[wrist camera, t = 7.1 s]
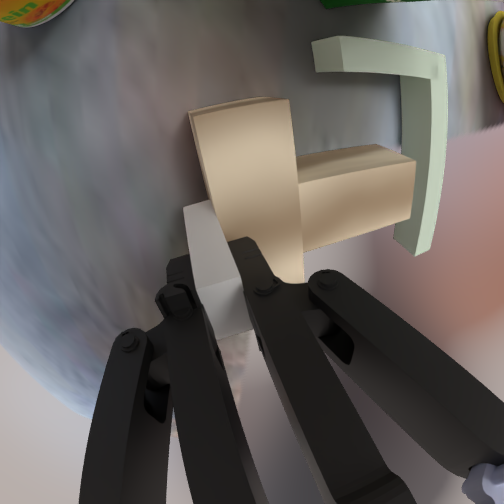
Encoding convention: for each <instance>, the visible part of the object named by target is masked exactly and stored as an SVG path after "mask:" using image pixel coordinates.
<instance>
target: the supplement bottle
mask: <svg viewBox="0 0 504 504" xmlns="http://www.w3.org/2000/svg"><path fill="white" fill-rule="evenodd" d="M73 1H74V0H0V21H1V22H4V23H8V24H11V25H15V26H18V27H24V28H27V27H34V26H38V25H41V24H43V23H45V22H47V21H49V20H51V19H53V18H54V17H56V16H57V15H59V14H60V13H61V12H62V11H64V10H65V9H66V8H67V7H68V6H69V5H70V4H71V3H72V2H73Z"/></svg>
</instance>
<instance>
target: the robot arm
mask: <svg viewBox="0 0 504 504" xmlns="http://www.w3.org/2000/svg"><path fill="white" fill-rule="evenodd" d="M183 212H184V219H185V226H186V233H187V240H188V246H189V252H190V254H188V255H184V256H181V257H178V258H174V259H171V260H170V262H169V264H168V265H167V267H166V273H167V285H165V286H164V287H163V288H161V289H160V290H159V292H158V293H157V295H156V298H155V302H156V304H157V306H158V307H159V309H160V311H161V313H162V315H163V317H164V320H163V321H162V322H161V323H160V324H159V325H157V326H156V327H154V328H153V329H151V330H149V331H147V332H146V333H145V332H144V331H143V330H141V329H138V328H131V329H127V330H125V331H124V332H122V333H121V334H120V335H119V336H118V337H117V338H116V339H115V341H114V343H113V346H112V349H111V352H110V355H109V359H108V362H107V365H106V369H105V372H104V376H103V379H102V383H101V386H100V390H99V394H98V398H97V402H96V406H95V410H94V414H93V419H92V423H91V428H90V433H89V437H88V442H87V448H86V453H85V459H84V465H83V471H82V479H81V486H80V495H79V504H166V489H167V471H168V457H169V444H170V433H171V423H172V413H173V407H174V413H175V420H176V426H177V431H178V437H179V442H180V447H181V452H182V458H183V462H184V467H185V471H186V476H187V480H188V484H189V488H190V492H191V496H192V500H193V504H269V502H268V500H267V497H266V494H265V492H264V489H263V487H262V484H261V481H260V478H259V475H258V472H257V470H256V467H255V464H254V461H253V458H252V455H251V452H250V449H249V446H248V443H247V440H246V437H245V434H244V431H243V427H242V425H241V421H240V418H239V415H238V411H237V408H236V405H235V401H234V398H233V395H232V391H231V388H230V384H229V381H228V377H227V374H226V370H225V366H224V363H223V359H222V355H221V352H220V349H219V347H218V345H217V341H216V340H219V339H223V338H226V337H229V336H233V335H236V334H239V333H243V332H246V331H249V330H252V329H253V328H254V331H255V334H256V338H257V342H258V346H259V350H260V351H261V352H262V354H263V357H264V359H265V362H266V365H267V367H268V370H269V372H270V375H271V377H272V380H273V382H274V385H275V387H276V390H277V392H278V395H279V397H280V399H281V402H282V405H283V407H284V410H285V412H286V414H287V417H288V419H289V422H290V424H291V426H292V429H293V431H294V434H295V436H296V438H297V441H298V443H299V445H300V448H301V450H302V453H303V455H304V457H305V460H306V462H307V464H308V466H309V469H310V471H311V473H312V475H313V477H314V480H315V482H316V485H317V487H318V489H319V491H320V493H321V495H322V498H323V501H324V504H417V503H416V501H415V499H414V498H413V496H412V494H411V492H410V490H409V488H408V487H407V485H406V484H405V483H404V481H403V480H402V479H401V478H400V477H399V476H398V475H396V474H394V473H393V472H391V471H390V469H389V468H388V467H387V465H386V464H385V462H384V460H383V458H382V456H381V455H380V453H379V451H378V449H377V447H376V445H375V443H374V442H373V440H372V438H371V436H370V434H369V432H368V431H367V429H366V427H365V425H364V423H363V422H362V420H361V418H360V416H359V414H358V412H357V411H356V409H355V407H354V405H353V403H352V402H351V400H350V398H349V396H348V394H347V393H346V391H345V389H344V387H343V386H342V384H341V382H340V380H339V378H338V377H337V375H336V373H335V371H334V370H333V368H332V366H331V364H330V362H329V361H328V359H327V357H326V355H325V354H324V352H325V353H326V354H327V355H328V356H329V357H330V358H331V359H332V360H333V361H334V362H335V363H336V364H337V365H338V366H339V367H340V368H341V369H342V370H343V371H344V372H345V373H346V374H347V375H348V376H349V377H350V378H351V379H352V380H353V381H354V382H355V383H356V384H357V385H358V386H359V387H360V388H361V389H362V390H363V391H364V392H365V393H366V394H367V395H368V396H369V397H370V398H371V399H372V400H373V401H374V402H375V403H376V404H377V405H378V406H379V407H380V408H382V410H383V411H385V413H386V414H388V415H389V416H390V417H391V418H392V419H393V420H394V421H395V422H396V423H397V424H398V425H399V426H400V427H401V428H402V429H403V430H404V431H405V432H406V433H407V434H408V435H409V436H410V437H412V439H413V440H415V441H416V442H417V443H418V444H419V445H420V446H421V447H422V448H423V449H424V450H425V451H426V452H427V453H428V454H429V455H431V457H432V458H434V459H435V460H436V461H437V462H438V463H439V464H440V465H442V466H443V467H444V468H445V469H447V470H448V471H450V472H452V473H453V474H455V475H457V476H460V477H463V478H466V480H465V481H464V483H463V485H462V492H463V493H464V494H466V495H467V497H468V498H469V499H470V500H472V501H473V502H475V504H504V402H502V401H501V400H500V399H499V398H498V397H497V396H496V395H494V394H493V393H492V392H491V391H490V390H489V389H488V388H487V387H485V386H484V385H483V384H482V383H481V382H479V381H478V380H477V379H476V378H475V377H474V376H473V375H471V374H470V373H469V372H468V371H467V370H465V369H464V368H463V367H462V366H461V365H459V364H458V363H457V362H456V361H455V360H453V359H452V358H451V357H450V356H448V355H447V354H446V353H445V352H443V351H442V350H441V349H440V348H439V347H437V346H436V345H435V344H434V343H432V342H431V341H430V340H429V339H427V338H426V337H425V336H424V335H422V334H421V333H420V332H419V331H417V330H416V329H415V328H413V327H412V326H411V325H410V324H408V323H407V322H406V321H404V320H403V319H402V318H401V317H399V316H398V315H397V314H395V313H394V312H393V311H392V310H390V309H389V308H388V307H386V306H385V305H384V304H382V303H381V302H380V301H378V300H377V299H376V298H374V297H373V296H371V295H370V294H369V293H368V292H366V291H365V290H364V289H362V288H361V287H360V286H358V285H357V284H356V283H354V282H353V281H352V280H350V279H349V278H347V277H346V276H345V275H343V274H342V273H340V272H338V271H336V270H330V269H327V270H320V271H318V272H315V273H314V274H313V275H312V276H310V278H309V281H308V283H297V284H296V283H286V282H283V281H282V280H281V279H280V278H279V277H276V276H275V275H274V274H273V272H272V270H271V268H270V267H269V265H268V263H267V261H266V259H265V258H264V256H263V255H262V252H261V251H260V249H259V247H258V245H257V244H256V242H255V241H254V240H253V239H251V238H249V237H248V236H246V237H243V238H239V239H236V240H232V241H229V242H227V241H226V239H225V236H224V234H223V231H222V229H221V226H220V223H219V221H218V218H217V216H216V213H215V211H214V208H213V206H212V203H211V200H206V201H203V202H199V203H196V204H192V205H189V206H186V207H183ZM323 351H324V352H323Z"/></svg>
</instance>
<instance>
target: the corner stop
mask: <svg viewBox="0 0 504 504" xmlns="http://www.w3.org/2000/svg"><path fill="white" fill-rule="evenodd" d="M311 44H312V51H313V57H314V64H315V71H316V72H366V73H382V74H394V75H400V88H401V110H402V146H401V154H402V155H404V156H406V157H409V158H411V159H413V160H415V161H416V171H415V182H414V191H413V200H412V207H411V214H410V219H407V220H404V221H401V222H398V223H395V230H394V237H393V238H394V239H395V240H396V241H397V242H398V243H400V244H401V245H402V246H403V247H404V248H405V249H407V250H408V251H409V252H410V253H411V254H412V255H413V256H417V255H419V254H421V253H424V252H426V251H428V250H429V249H430V246H431V242H432V238H433V233H434V228H435V224H436V219H437V214H438V208H439V203H440V196H441V190H442V183H443V175H444V167H445V155H446V144H447V123H448V92H447V72H446V60H445V55H442V54H439V53H435V52H432V51H428V50H424V49H420V48H416V47H412V46H407V45H403V44H398V43H392V42H387V41H381V40H374V39H367V38H359V37H350V36H335V37H330V38H325V39H321V40H317V41H313V42H311Z"/></svg>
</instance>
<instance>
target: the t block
mask: <svg viewBox="0 0 504 504" xmlns="http://www.w3.org/2000/svg"><path fill="white" fill-rule="evenodd" d="M188 115H189V119H190V124H191V128H192V133H193V137H194V141H195V145H196V150H197V154H198V158H199V162H200V166H201V171H202V175H203V179H204V183H205V187H206V191H207V195H208V199H209V200H211V203H212V206H213V208H214V211H215V213H216V216H217V218H218V221H219V223H220V226H221V229H222V231H223V234H224V236H225V239H226V241H227V242H229V241H232V240H236V239H239V238H243V237H246V236H248V237H249V238H251V239H253V240H254V241H255V242H256V244H257V245H258V247H259V249H260V251H261V252H262V255H263V256H264V258H265V259H266V261H267V263H268V265H269V267H270V268H271V270H272V272H273V274H274V275H275V276H276V277H279V278H280V279H281V280H282V281H283V282H286V283H296V284H297V283H305V280H304V258H303V253H304V252H307V251H311V250H314V249H317V248H320V247H323V246H327V245H330V244H333V243H336V242H339V241H342V240H345V239H349V238H351V237H355V236H358V235H361V234H364V233H367V232H370V231H373V230H376V229H379V228H382V227H386V226H389V225H392V224H395V223H398V222H401V221H404V220H407V219H410V214H411V207H412V200H413V191H414V182H415V171H416V161H415V160H413V159H411V158H409V157H406V156H404V155H402V154H399V153H397V152H395V151H392V150H390V149H387V148H385V147H382V146H380V145H377V144H373V145H365V146H357V147H350V148H344V149H337V150H331V151H325V152H319V153H314V154H308V155H303V156H297V157H296V156H295V146H294V137H293V129H292V121H291V113H290V105H289V99H282V98H271V97H255V98H249V99H243V100H237V101H232V102H227V103H222V104H217V105H212V106H208V107H204V108H199V109H195V110H191V111H188Z"/></svg>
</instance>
